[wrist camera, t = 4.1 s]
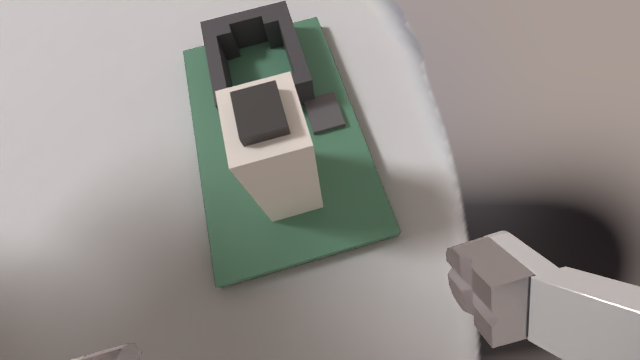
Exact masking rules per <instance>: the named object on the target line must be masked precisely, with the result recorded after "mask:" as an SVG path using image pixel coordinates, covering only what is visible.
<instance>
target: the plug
mask: <svg viewBox="0 0 640 360" xmlns="http://www.w3.org/2000/svg"><path fill="white" fill-rule="evenodd" d="M215 94H216V100H217V105H218V111H219V116H220V122H221V127H222V133H223V139H224V144H225V150H226V155H227V161H228V166H229V169H230V171H231V172H232V173H233V174H234V176H235V177H236V178H237V179H238V181H239V182H240V183H241V184H242V185H243V187H244V188H245V189H246V190H247V192H248V193H249V194H250V195H251V196H252V198H253V199H254V200H255V201H256V203H257V204H258V205H259V206H260V207H261V209H262V210H263V211H264V212H265V214H266V215H267V216H268V217H269V218H270V220H271V221H272V222H274V221H278V220H281V219H284V218H288V217H291V216H295V215H298V214H302V213H305V212H309V211H312V210H316V209H319V208H323V201H322V195H321V189H320V183H319V177H318V171H317V165H316V159H315V153H314V147H313V143H312V140H311V136H310V133H309V130H308V127H307V124H306V120H305V117H304V114H303V111H302V107H301V104H300V101H299V98H298V95H297V91H296V88H295V85H294V82H293V79H292V75H291V72H286V73H282V74H278V75H275V76H271V77H267V78H263V79H260V80H256V81H252V82H248V83H244V84H241V85H237V86H233V87H229V88H225V89H222V90H218V91H215Z"/></svg>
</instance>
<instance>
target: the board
mask: <svg viewBox="0 0 640 360" xmlns="http://www.w3.org/2000/svg"><path fill="white" fill-rule="evenodd" d="M200 23H201V29H202V34H203V40H204V46H201V47H197V48H193V49H189V50H185V51H183V54H184V61H185V69H186V76H187V83H188V90H189V98H190V105H191V112H192V120H193V127H194V134H195V141H196V149H197V156H198V163H199V170H200V178H201V185H202V192H203V200H204V207H205V214H206V221H207V229H208V236H209V243H210V251H211V258H212V265H213V272H214V280H215V287H218V288H223V287H226V286H230V285H233V284H236V283H240V282H243V281H247V280H250V279H253V278H257V277H260V276H263V275H267V274H270V273H273V272H277V271H280V270H284V269H287V268H290V267H294V266H297V265H300V264H304V263H307V262H311V261H314V260H317V259H321V258H324V257H327V256H331V255H334V254H338V253H341V252H344V251H348V250H351V249H354V248H358V247H361V246H365V245H368V244H371V243H375V242H378V241H381V240H385V239H388V238H391V237H395V236H398V235H399V234H400V233H401V231H400V229H399V226H398V224H397V221H396V218H395V216H394V213H393V211H392V208H391V206H390V203H389V200H388V198H387V195H386V193H385V190H384V188H383V185H382V183H381V180H380V177H379V175H378V172H377V170H376V167H375V165H374V162H373V160H372V157H371V154H370V152H369V149H368V147H367V144H366V142H365V139H364V136H363V134H362V131H361V129H360V126H359V124H358V121H357V119H356V116H355V113H354V111H353V108H352V106H351V103H350V101H349V98H348V96H347V93H346V90H345V88H344V85H343V83H342V80H341V78H340V75H339V72H338V70H337V67H336V65H335V62H334V60H333V57H332V55H331V52H330V49H329V47H328V44H327V42H326V39H325V37H324V34H323V32H322V29H321V26H320V24H319V21H318V19H317V17H315V18H311V19H307V20H303V21H299V22H295V23H293V22H292V19H291V16H290V13H289V10H288V7H287V4H286V2H285V1H282V2H278V3H274V4H270V5H266V6H262V7H258V8H255V9H251V10H247V11H243V12H239V13H235V14H231V15H227V16H223V17H219V18H215V19H211V20H207V21H203V22H200ZM286 72H291V75H292V79H293V82H294V85H295V88H296V91H297V95H298V98H299V101H300V104H301V107H302V111H303V114H304V117H305V120H306V124H307V127H308V130H309V133H310V136H311V140H312V143H313V147H314V153H315V159H316V165H317V171H318V177H319V183H320V189H321V195H322V201H323V208H319V209H316V210H312V211H309V212H305V213H302V214H298V215H295V216H291V217H288V218H284V219H281V220H278V221H274V222H272V221H271V220H270V218H269V217H268V216H267V215H266V214H265V212H264V211H263V210H262V209H261V207H260V206H259V205H258V204H257V203H256V201H255V200H254V199H253V198H252V196H251V195H250V194H249V193H248V192H247V190H246V189H245V188H244V187H243V185H242V184H241V183H240V182H239V181H238V179H237V178H236V177H235V176H234V174H233V173H232V172H231V171H230V169H229V166H228V161H227V155H226V150H225V144H224V139H223V133H222V127H221V122H220V116H219V111H218V105H217V100H216V94H215V91H218V90H222V89H225V88H229V87H233V86H237V85H241V84H244V83H248V82H252V81H256V80H260V79H263V78H267V77H271V76H275V75H278V74H282V73H286Z"/></svg>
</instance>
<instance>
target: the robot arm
mask: <svg viewBox="0 0 640 360" xmlns="http://www.w3.org/2000/svg"><path fill="white" fill-rule="evenodd" d="M446 260H447V262H448V263H449V264H450V265H451V267H452V268H451V270H450V271H449V273H448V280H449V285H450V288H451V291H452V294H453V296H454V298H455V299H456V301H457V303H458V304H459V306H460V307H461V308H462V310H463V311H465V312H467V313H470V314H472V315H474V325H475V326H476V328H477V329H478V330H479V332H480V333H481V334H482V335H483V336H484V338H485V339H486V340H487V342H488V343H489V344H490V346H491V347H492V348H495V347H498V346H502V345H506V344H509V343H512V342H516V341H520V340H523V339H527V338H528V340H529V341H530V342H532V343H534V344H536V345H537V346H539V347H541V348H543V349H545V350H547V351H548V352H550V353H552V354H554V355H555V356H557V357H559V358H561V359H563V360H640V287H639V286H635V285H631V284H628V283H624V282H620V281H617V280H613V279H609V278H606V277H602V276H598V275H595V274H591V273H587V272H584V271H580V270H576V269H572V268H569V267H563V268H558V267H557V266H555V265H554V264H553V263H551V262H550V261H548V260H547V259H545V258H544V257H543V256H541V255H540V254H538V253H537V252H535V251H534V250H533V249H531V248H530V247H529V246H527V245H526V244H524V243H523V242H522V241H520V240H519V239H517V238H516V237H514V236H513V235H512V234H510V233H509V232H506V231H500V232H496V233H493V234H490V235H487V236H484V237H482V238H478V239H475V240H472V241H469V242H465V243H462V244H459V245H456V246H452V247H449V248H447V251H446ZM141 354H142V352H141V350H140V349H139V348H138V346H137V345H136V344H135V343H127V344H124V345H120V346H116V347H113V348H109V349H105V350H102V351H98V352H94V353H91V354H88V355H85V356H81V357H78V358H74V359H70V360H140V358H141Z"/></svg>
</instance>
